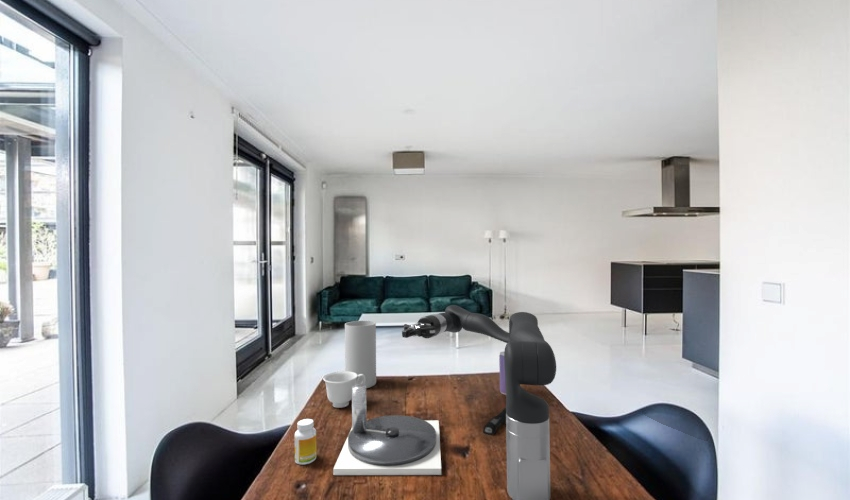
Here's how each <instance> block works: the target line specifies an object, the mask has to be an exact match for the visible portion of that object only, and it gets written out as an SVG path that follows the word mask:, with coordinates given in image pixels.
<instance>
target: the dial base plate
mask: <svg viewBox="0 0 850 500" xmlns="http://www.w3.org/2000/svg"><path fill="white" fill-rule="evenodd" d="M425 421H426V422H428V423H430V424H431V425H432V426H433V427H434V429H435V431H436V445H435V447H434V449H433V450H432V451H431V452H430V453H429V454H428V455H427V456H425V457H423V458H422V459H419V460H417V461H414V462H412V463H408V464H403V465H396V466H379V465H372V464H368V463H365V462H362V461H360V460H358V459H356V458H355V457H354V456H352V454H351V453H350V452H349V449H348V436H349V434H348V435H347V437H346V440H345V442H344V444H343V446H342V449H341V451H340V453H339V455H338V457H337V460H336V462H335V464H334V466H333V469H332V470H333V471H332V472H333V473H332V474H333V476H436V475H437V476H442V460H441V441H440V439H441V437H440V424H439V422H440V421H439V420H436V419H435V420H431V419H430V420H425ZM351 430H352V427H351V429H350V431H349V433H350V432H351Z"/></svg>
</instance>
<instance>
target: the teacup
mask: <svg viewBox="0 0 850 500" xmlns="http://www.w3.org/2000/svg"><path fill="white" fill-rule="evenodd" d="M360 377H363V381H362V383H361V384H360V385H364V383H365V380H366V379H365V376H364V375H363V374H359V375H357V374H356V373H354V372H349V371H345V370H342V371H341V370H339V371H333V372H330V373H327V374H326V375H324V376H323V378H322V380H323V381H324V383H325V388H326V396H327V399H328V401H329V402H330V403H332V407H333V408H338V409H339V408H341V409H342V408H345V407H348V406H349V404H350V402H351V401H352V386H354V385H355V381H358V380H359V378H360Z"/></svg>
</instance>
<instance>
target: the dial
mask: <svg viewBox="0 0 850 500" xmlns="http://www.w3.org/2000/svg"><path fill="white" fill-rule="evenodd" d="M426 421H427V420H425V419H422V418H419V417H416V416H411V415H404V414H403V415H400V414H399V415H397V414H396V415H393V414H392V415H391V414H390V415H383V416H378V417H373V418H371V419H367V388H366V386H365V385H354V386H352V399H351V428H352V430H351V429H350V431H351V432H350V431H349V433H348V435H349V436H348V435H347V437H348V449H349V452H350V453H351V454H352V456H354V457H355V458H356V459H358V460H360V461H362V462H365V463H368V464H372V465H379V466H396V465H403V464H408V463H412V462H414V461H417V460H419V459H422V458H423V457H425V456H427V455H428V454H429V453H430V452H431V451H432V450H433V449H434V447H435V445H436V431H435V429H434V427H433V426H432V425H431V424H430V423H428V422H426Z"/></svg>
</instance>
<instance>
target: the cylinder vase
mask: <svg viewBox="0 0 850 500" xmlns="http://www.w3.org/2000/svg"><path fill="white" fill-rule="evenodd" d="M376 324H377V323H376V322H375V321H371V320H354V321H348V322H346V323H344V371H349V372H354V373H356V374H357V375H359V374H363V375H364V376H365V379H366V380H365V383H364V385H365V386H366V389H369V388H372V387H374V386H375V385H376V384H377V327H376V326H377V325H376ZM362 381H363V377H360V378H359V380H358V381H355V385H360V384H361V383H362Z"/></svg>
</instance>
